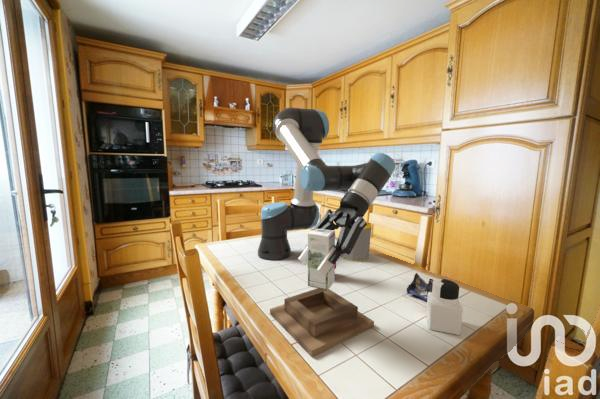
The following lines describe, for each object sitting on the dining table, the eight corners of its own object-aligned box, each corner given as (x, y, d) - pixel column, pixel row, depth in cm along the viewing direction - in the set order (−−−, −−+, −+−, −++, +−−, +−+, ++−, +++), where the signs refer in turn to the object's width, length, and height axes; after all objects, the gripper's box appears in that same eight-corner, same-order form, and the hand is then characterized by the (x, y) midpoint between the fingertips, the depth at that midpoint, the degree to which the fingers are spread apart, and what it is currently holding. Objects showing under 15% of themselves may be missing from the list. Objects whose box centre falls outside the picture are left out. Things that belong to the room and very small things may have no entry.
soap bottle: (339, 251, 128) (340, 207, 125) (366, 251, 127) (368, 207, 124) (342, 261, 115) (344, 213, 112) (373, 262, 114) (375, 213, 111)
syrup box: (335, 281, 73) (335, 229, 71) (327, 291, 67) (328, 235, 65) (315, 278, 75) (315, 227, 73) (306, 287, 70) (307, 232, 68)
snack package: (452, 299, 85) (422, 283, 96) (453, 281, 84) (421, 266, 94) (426, 313, 81) (397, 295, 91) (425, 294, 79) (396, 278, 90)
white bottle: (454, 320, 73) (458, 278, 72) (460, 336, 67) (465, 290, 65) (425, 315, 76) (429, 274, 74) (429, 330, 69) (432, 285, 67)
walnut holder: (269, 313, 76) (269, 297, 75) (325, 294, 87) (325, 280, 86) (311, 357, 59) (311, 336, 58) (373, 326, 70) (374, 308, 69)
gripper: (394, 213, 68) (346, 290, 62) (340, 203, 85) (297, 262, 79) (381, 194, 65) (328, 273, 58) (327, 187, 82) (281, 247, 75)
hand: (310, 266), depth 69 cm, fingers closed on syrup box, 8 cm apart
